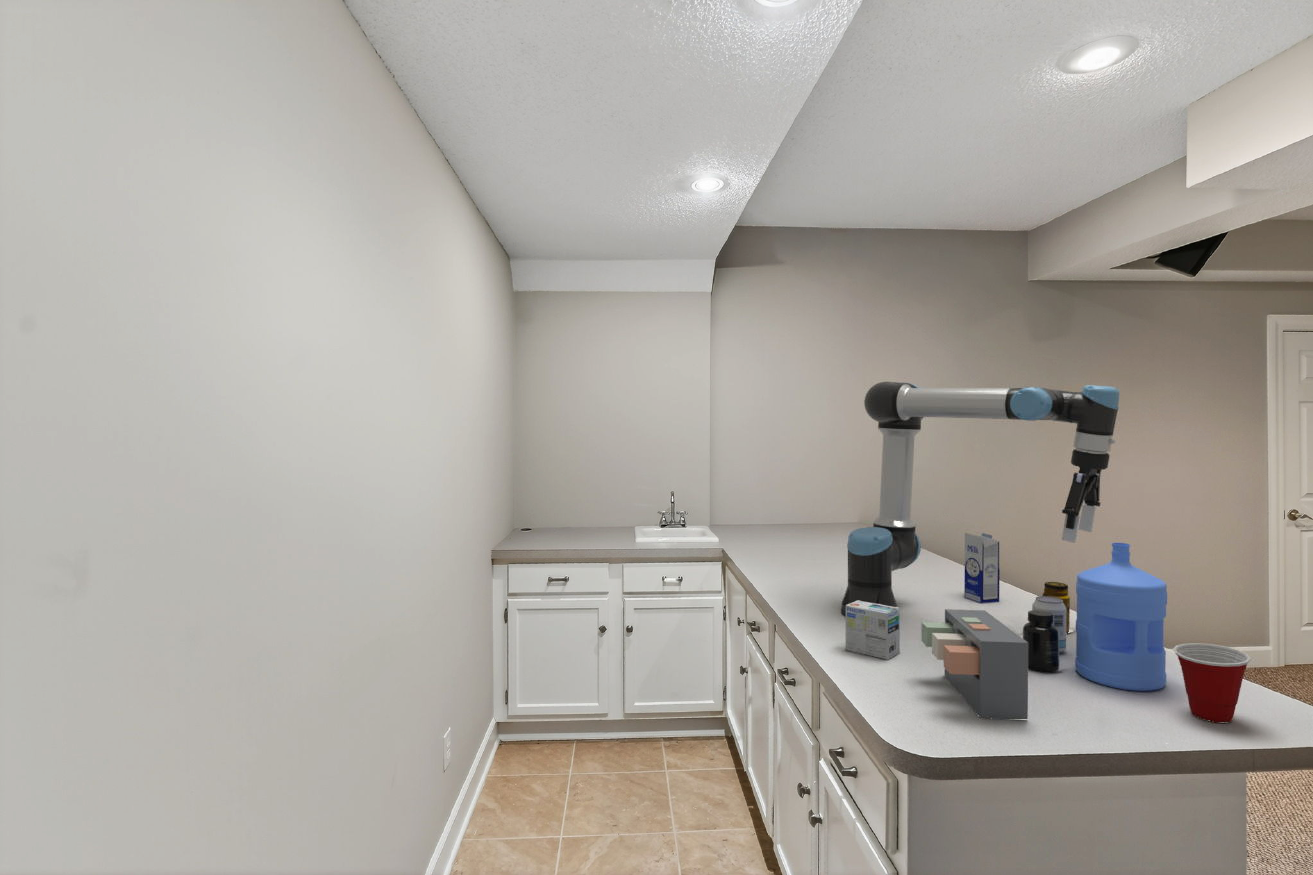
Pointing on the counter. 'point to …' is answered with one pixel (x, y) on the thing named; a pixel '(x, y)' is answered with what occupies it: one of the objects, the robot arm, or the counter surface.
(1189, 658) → the plastic cup
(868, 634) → the light bulb box
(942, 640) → the ivory key
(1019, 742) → the counter surface
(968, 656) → the terracotta key
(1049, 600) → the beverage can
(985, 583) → the milk carton
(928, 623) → the sage key
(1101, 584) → the water jug
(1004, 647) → the key console
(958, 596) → the counter surface
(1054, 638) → the supplement bottle
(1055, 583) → the condiment
